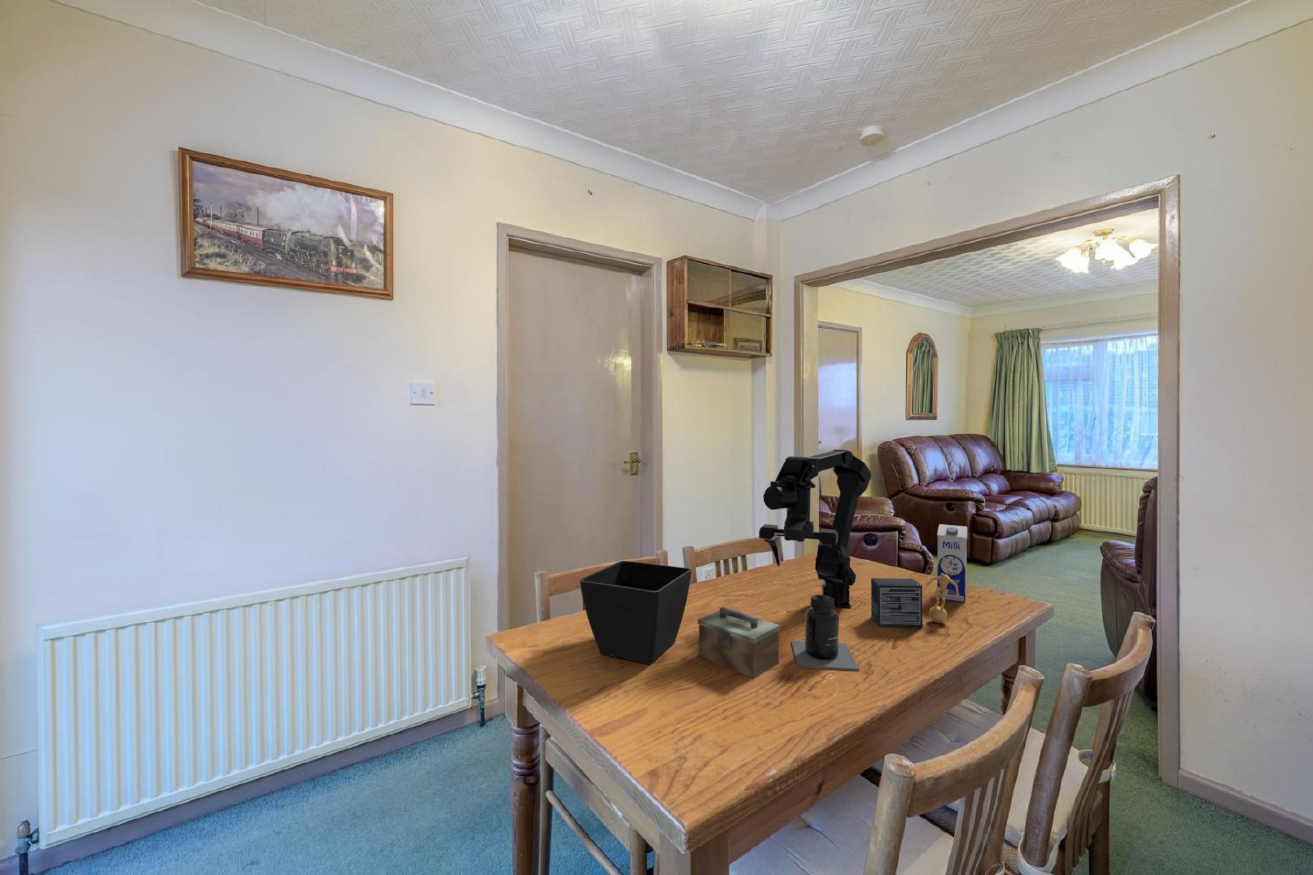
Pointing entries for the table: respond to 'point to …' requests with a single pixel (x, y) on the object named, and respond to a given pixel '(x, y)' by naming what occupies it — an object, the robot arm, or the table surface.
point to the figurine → (937, 611)
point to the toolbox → (739, 641)
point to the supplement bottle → (822, 628)
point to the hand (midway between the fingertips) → (797, 568)
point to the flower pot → (636, 608)
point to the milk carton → (952, 559)
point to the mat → (806, 661)
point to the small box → (896, 602)
